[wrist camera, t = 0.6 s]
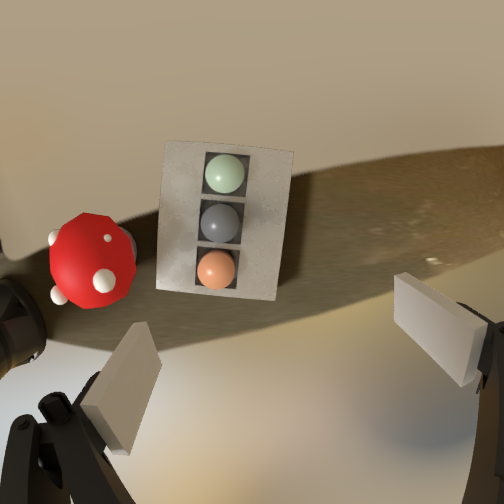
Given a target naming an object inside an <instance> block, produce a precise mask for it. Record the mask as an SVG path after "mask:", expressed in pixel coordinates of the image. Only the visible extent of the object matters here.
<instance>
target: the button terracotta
mask: <svg viewBox="0 0 504 504" xmlns="http://www.w3.org/2000/svg"><path fill="white" fill-rule="evenodd" d="M234 272H235V263H234V260H233V258H232V257H231V255H230V254H229V253H227V252H226V251H223V250H219V249H214V250H211V251H209V252H207V253H206V254H205V255H204V256H203V257H202V259H201V261H200V263H199V265H198V269H197V273H198V277H199V280H200V281H201V282H202V284H203V285H205V286H206V287H208V288H210V289H216V290H217V289H222V288H225V287H227V286H228V285H229V284H230V283H231V282H232V280H233V278H234Z"/></svg>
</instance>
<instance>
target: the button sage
mask: <svg viewBox="0 0 504 504" xmlns="http://www.w3.org/2000/svg"><path fill="white" fill-rule="evenodd" d="M244 174H245V173H244V167H243V165H242V163H241V162H240V161H239V160H238V159H237V158H236V157H234V156H231V155H225V154H224V155H219V156H216V157H215V158H213V159H212V160H211V161H210V162H209V164H208V165H207V167H206V172H205V177H206V181H207V183H208V185H209V186H210V187H211V188H212V189H213V190H215V191H217V192H220V193H229V192H232V191H234V190H236V189H237V188H239V187H240V185H241V184H242V182H243V180H244Z"/></svg>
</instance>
